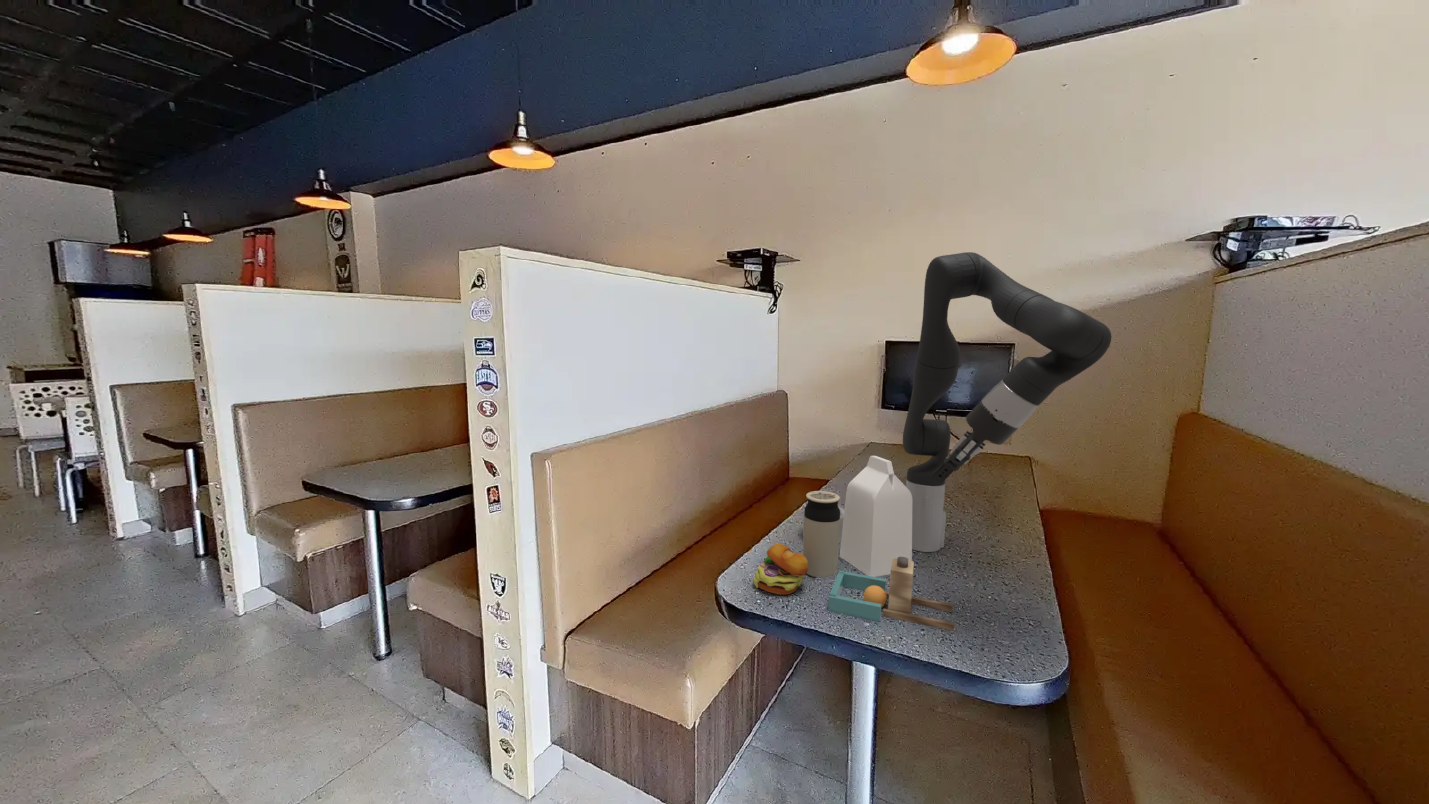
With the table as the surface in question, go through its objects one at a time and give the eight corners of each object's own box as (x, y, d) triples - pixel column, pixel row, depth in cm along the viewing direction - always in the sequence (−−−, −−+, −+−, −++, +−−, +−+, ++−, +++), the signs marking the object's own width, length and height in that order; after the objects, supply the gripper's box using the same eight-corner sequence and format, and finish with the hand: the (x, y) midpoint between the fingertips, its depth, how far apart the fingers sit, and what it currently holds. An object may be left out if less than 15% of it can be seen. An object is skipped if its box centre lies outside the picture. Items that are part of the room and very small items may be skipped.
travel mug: (840, 579, 116) (844, 501, 113) (805, 578, 116) (808, 501, 113) (833, 563, 124) (836, 490, 121) (799, 563, 124) (802, 490, 121)
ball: (885, 584, 106) (866, 593, 107) (875, 579, 103) (856, 588, 105) (893, 605, 103) (874, 614, 104) (884, 601, 100) (864, 610, 102)
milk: (839, 558, 126) (844, 454, 123) (878, 552, 130) (884, 451, 127) (869, 580, 115) (876, 466, 112) (911, 573, 119) (919, 463, 116)
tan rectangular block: (910, 604, 104) (914, 554, 103) (909, 618, 99) (913, 567, 97) (890, 599, 106) (893, 551, 104) (887, 614, 100) (891, 563, 99)
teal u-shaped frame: (885, 594, 109) (886, 579, 109) (880, 624, 98) (881, 607, 97) (838, 585, 113) (839, 570, 112) (828, 613, 101) (828, 596, 101)
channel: (952, 610, 102) (952, 604, 102) (954, 631, 95) (954, 625, 95) (885, 597, 107) (886, 591, 107) (882, 616, 100) (882, 610, 99)
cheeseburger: (748, 575, 117) (759, 533, 116) (793, 584, 118) (804, 543, 117) (755, 597, 107) (768, 551, 106) (804, 607, 108) (817, 562, 107)
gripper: (988, 392, 98) (929, 456, 106) (976, 405, 87) (911, 475, 96) (1024, 417, 95) (960, 481, 103) (1016, 434, 84) (946, 504, 93)
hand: (937, 478), depth 99 cm, fingers closed
